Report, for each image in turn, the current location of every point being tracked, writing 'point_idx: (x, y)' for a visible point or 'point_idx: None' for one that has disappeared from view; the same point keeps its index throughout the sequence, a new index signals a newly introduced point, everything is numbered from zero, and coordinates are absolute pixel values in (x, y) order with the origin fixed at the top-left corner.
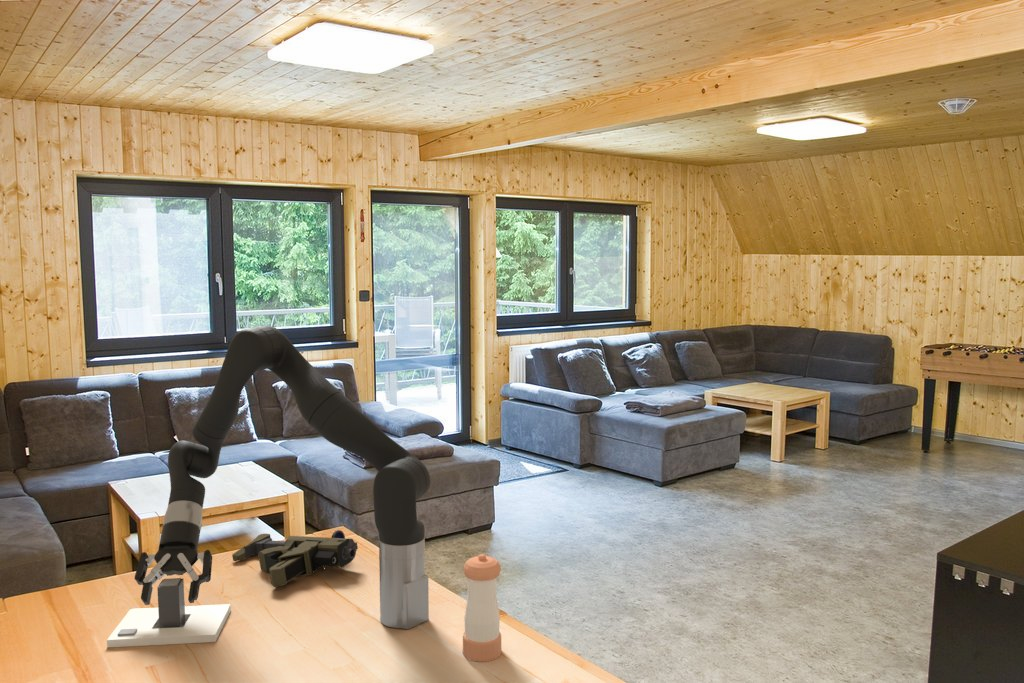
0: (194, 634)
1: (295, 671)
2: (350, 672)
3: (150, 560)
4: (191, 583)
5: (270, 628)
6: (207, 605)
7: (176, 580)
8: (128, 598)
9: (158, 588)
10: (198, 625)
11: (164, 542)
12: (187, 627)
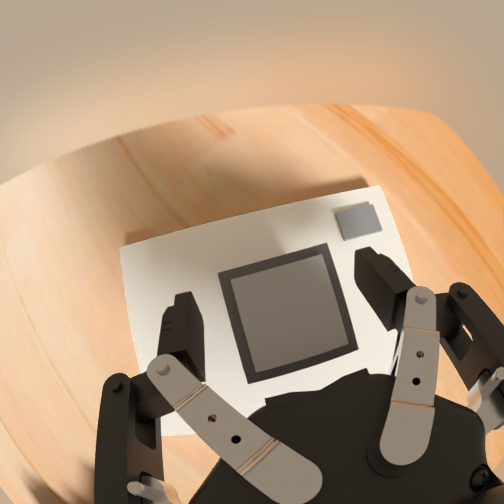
0: (168, 239)
1: (15, 183)
2: None
3: (482, 394)
4: (182, 343)
5: (51, 329)
6: None
7: (261, 331)
8: None
9: (321, 246)
10: None
11: (490, 500)
12: (207, 279)
